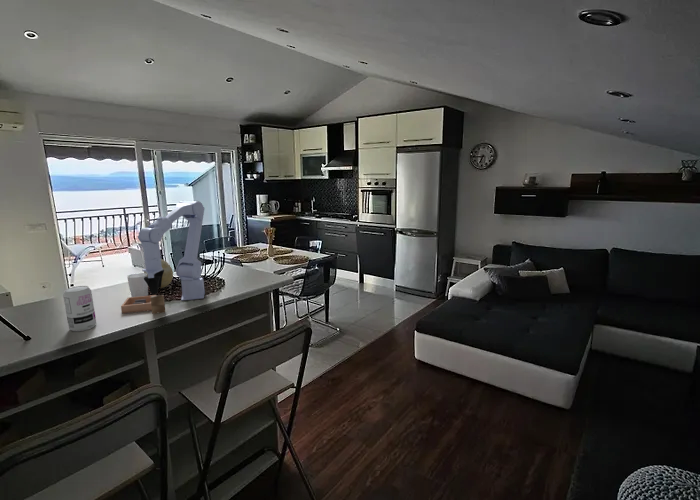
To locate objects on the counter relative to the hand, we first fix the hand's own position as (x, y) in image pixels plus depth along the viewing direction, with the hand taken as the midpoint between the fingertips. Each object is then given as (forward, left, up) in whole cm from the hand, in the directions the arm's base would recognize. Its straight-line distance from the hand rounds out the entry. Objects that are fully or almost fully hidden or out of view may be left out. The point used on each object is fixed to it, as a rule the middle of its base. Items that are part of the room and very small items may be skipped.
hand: (156, 290), depth 145 cm
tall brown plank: (0, 0, -9) cm, 9 cm away
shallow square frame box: (+8, -9, -9) cm, 15 cm away
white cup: (+12, -26, -10) cm, 30 cm away
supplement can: (+24, +7, -10) cm, 27 cm away
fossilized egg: (+5, -36, -10) cm, 37 cm away
